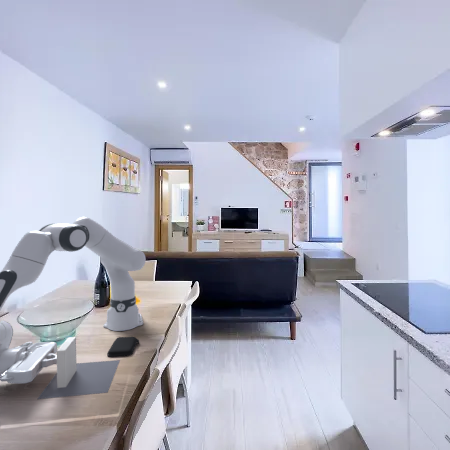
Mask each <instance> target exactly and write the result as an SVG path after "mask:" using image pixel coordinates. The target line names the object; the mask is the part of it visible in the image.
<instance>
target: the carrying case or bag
mask: <svg viewBox="0 0 450 450" xmlns="http://www.w3.org/2000/svg"><path fill="white" fill-rule="evenodd" d="M137 344H138V345H139V344H140V340H139V338H137V337H136V336H122V337H121V336H120V337H117V338H116V339H115V340H114V341H113V343H112V345H111V346H110V347H109V349H108V351H107V353H106V355H107V357H108V358H117V357H119V358H120V357H129V356H131V355H133V354H134V351H135V349H136V347H137Z"/></svg>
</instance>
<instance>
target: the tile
mask: <svg viewBox="0 0 450 450" xmlns="http://www.w3.org/2000/svg"><path fill="white" fill-rule="evenodd" d="M56 355H57V364H56V373H57V388H62V387H66V386H67V385H68V383H69V381H70V380H71V378H72V377H73V375H74V374H75V372H76V370H77V366H76V363H77V337H76V336H71V337H68V336H67V338H66V339H65V341H63V343H62V344H61V345H60V346H59V347H58V348H57V352H56Z"/></svg>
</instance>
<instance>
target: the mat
mask: <svg viewBox="0 0 450 450" xmlns="http://www.w3.org/2000/svg"><path fill="white" fill-rule="evenodd" d="M120 361H121V359H116V360H115V359H114V360H104V361H103V360H102V361H92V362H91V361H90V362H78V363H77V362H76V366H77V370H76V372H75V374H74V375H73V377H72V378H71V380H70V381H69V383H68V385H67V386H66V387H62V388H57V372H56V373H55V374H54V376H53V377H52V379H51V380H50V381H49V383H47V385H46V386H45V388H44V389H43V390H42V392H41V393H40V394H39V396H38V397H37V400H43V399H45V400H46V399H53V398H56V399H57V398H64V397H65V398H66V397H74V396H75V397H77V396H84V395H85V396H89V395H95V394H96V395H97V394H107V393H108V392H109V390H110V387H111V386H112V385H111V384H112V382H113V379H114V378H115V377H114V376H115V375H116V372H117V370H118V366H119V364H120Z"/></svg>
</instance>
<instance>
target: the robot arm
mask: <svg viewBox="0 0 450 450" xmlns="http://www.w3.org/2000/svg"><path fill="white" fill-rule="evenodd" d="M84 247H86V248H88V250H90V251H91V252H92V253H94V254H95V255H96V256H98V257H99V261H100V264H102V265H103V267H104V268H105V270H106V272H107V275H108V278H109V281H110V295H111V296H110V300H109V305H110V307H109V308H108V309H107V311H106V322H105V323H104V324H103V326H102V327H103V328H106V329H108V330H110V331H114V332H115V331H117V332H121V331H129V330H132V329H134V328H137V327H140V326H142V325H144V321H143V317H142V314H141V313H140V312H139V308H138V305H137V304H136V303H137V298H136V290H135V289H136V288H135V287H136V285H135V280H134V278H133V277H132V276H131V275H130V273H129V272H133V271H134V272H135V271H140V270H142V269H143V267H144V266H145V264H146V259H147V258H146V254H145V253H144V251H142V250H139V249H137V248H135V247H133V246H131V245H130V244H129V243H127V242H125V241H124V240H121V239H119V238H117V237H116V236H115V235H113V234H112V233H111V232H109V231H108V229H106V228H105V227H104V226H102V225H101V224H99V223H98V222H97V221H95V220H94V219H92V218H90V217H87V216H81V217H79V218H76V220H74V221H73V223H62V222H61V223H49V224H46V225H44V226H42V227H41V228H40V229H39V230H31V231H27V232H26V233H25V234H24V235H23V237H21V239H20V240H19V241H18V243H17V245H16V246H15V247H14V249H13V251H12V253H11V255H10V257H9V259H8V261H7V262H6V263H5V265H4V267H3V268H2V269H1V271H0V311H1V310H2V309H3V307H4V305H5V303H6V301H7V300H8V298H9V297H10V296H11V295H12V294H13V293H14V292H16V291H17V290H19V289H21V288H24V287H27V286H29V285H32V284H33V283H35V282H36V281H37V280H38V278H39V277H40V276H41V274H42V273H43V271H44V268H45V266H46V263H47V262H48V260H49V257H50V255H51V254H52V253H53V252H54V251H58V252H70V253H71V252H77V251H79V250H82V249H83V248H84ZM13 336H14V329H13V326H12V324H11V323H9V321H6V320H0V382H7V383H8V384H28V383H31V382H32V381H33V380H34V379H35V378H36V377H37V376H38V375H39V373H40V372H41V371H42V370H43V368H48V367H51V366H53V365H57V350H58V344H57V343H58V342H57V343H56V342H55V341H39V342H34V343H33V341H27V342H25V343H22V344H21V345H19V346H14V347H12V348H10V347H11V346H10V345H11V343H12V339H13Z"/></svg>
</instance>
